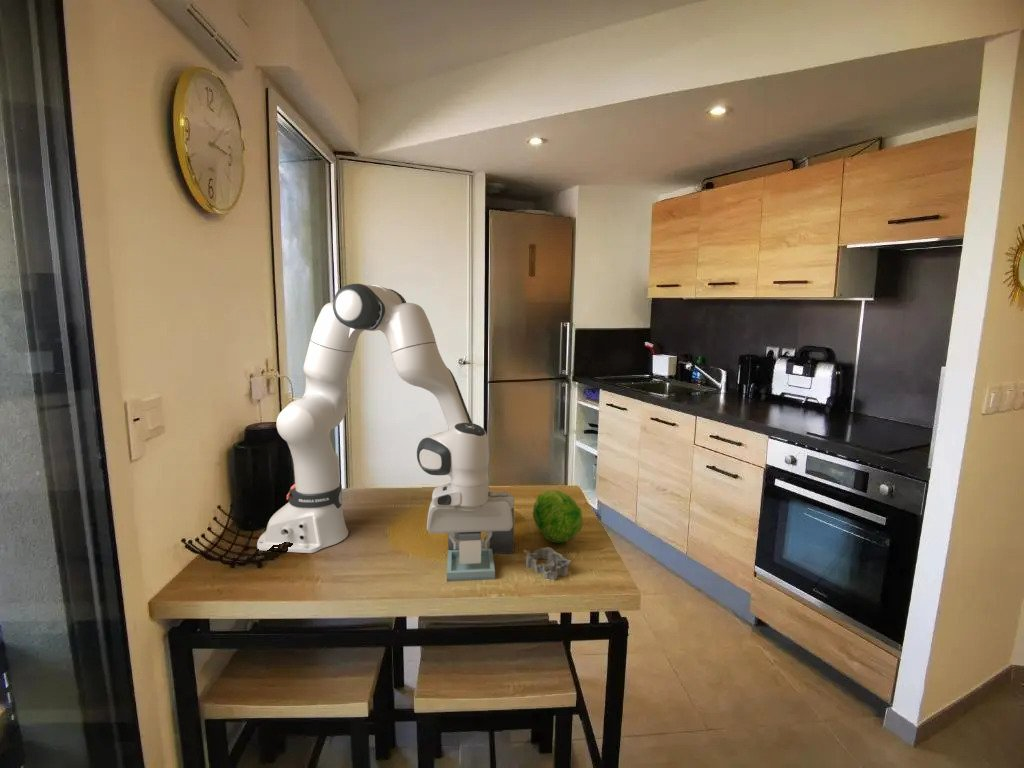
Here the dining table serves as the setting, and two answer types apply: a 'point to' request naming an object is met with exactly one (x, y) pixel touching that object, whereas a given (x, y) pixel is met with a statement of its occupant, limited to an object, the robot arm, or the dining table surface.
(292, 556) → the dining table surface
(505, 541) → the block
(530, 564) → the gray jagged ring
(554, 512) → the lettuce
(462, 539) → the cartridge
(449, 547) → the knob
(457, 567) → the tray
